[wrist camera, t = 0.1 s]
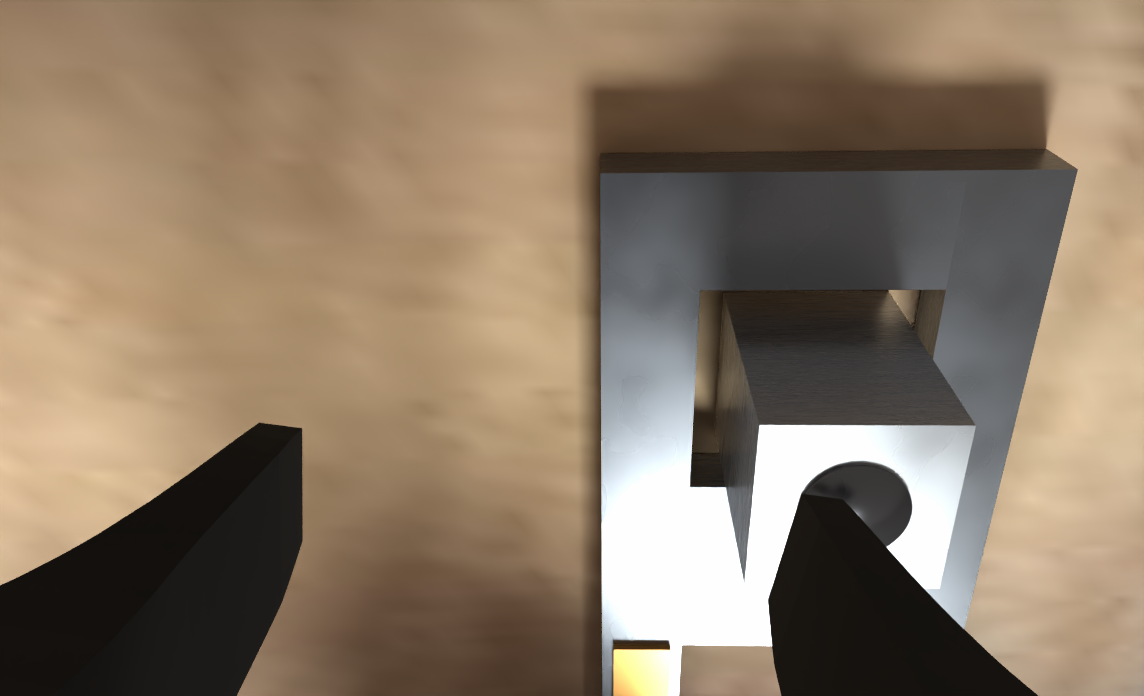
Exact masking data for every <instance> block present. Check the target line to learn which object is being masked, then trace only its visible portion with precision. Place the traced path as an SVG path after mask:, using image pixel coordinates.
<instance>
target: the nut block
mask: <svg viewBox="0 0 1144 696" xmlns="http://www.w3.org/2000/svg"><path fill="white" fill-rule="evenodd" d="M975 428H976V425H975V423H974V422H973V420H972V419H971V417H970V416H969V414H968V412H967V411H966V409H965V408H964V406H963V405H962V403H961V402H960V400H959V399H958V397H957V396H956V394H955V393H954V391H953V389H952V388H951V386H950V385H949V383H948V382H947V380H946V379H945V377H944V376H943V374H942V373H941V371H940V370H939V368H938V366H937V365H936V363H935V362H934V360H933V359H932V357H931V356H930V354H929V353H928V351H927V350H926V348H925V347H924V345H923V343H922V342H921V340H920V339H919V337H918V336H917V334H916V333H915V331H914V330H913V328H912V327H911V325H910V324H909V322H908V320H907V319H906V317H905V316H904V314H903V313H902V311H901V310H900V308H899V307H898V305H897V304H896V302H895V301H894V299H893V297H892V296H891V294H890V293H889V291H872V292H723V307H722V322H721V338H720V353H719V368H718V384H717V399H716V415H715V434H716V440H717V445H718V450H719V455H720V461H721V466H722V471H723V476H724V482H725V487H726V492H727V497H728V503H729V508H730V513H731V518H732V524H733V529H734V534H735V540H736V545H737V550H738V555H739V561H740V566H741V571H742V576H743V582H744V587H772V584H773V581H774V578H775V575H776V572H777V569H778V565H779V562H780V559H781V556H782V553H783V550H784V546H785V543H786V540H787V537H788V534H789V531H790V527H791V524H792V521H793V518H794V515H795V512H796V508H797V505H798V502H799V499H800V496H801V494H808V495H815V496H823V497H831V498H838V499H843V500H844V501H845V502H846V503H847V504H848V505H849V506H850V507H851V508H852V509H853V510H854V511H855V512H856V514H857V515H858V516H859V517H860V518H861V519H862V520H863V521H864V522H865V524H866V525H867V526H868V527H869V528H870V529H871V530H872V531H873V533H874V534H875V535H876V536H877V537H878V538H879V539H880V540H881V542H882V543H883V544H884V545H885V546H886V547H887V548H888V549H889V551H890V552H891V553H892V554H893V555H894V556H895V557H896V558H897V560H898V561H899V562H900V563H901V564H902V565H903V566H904V567H905V568H906V569H907V571H908V572H909V573H910V574H911V575H912V576H913V577H914V578H915V579H916V580H917V581H918V583H919V584H920V585H921V586H922V587H923V588H924V589H940V584H941V580H942V575H943V571H944V566H945V562H946V557H947V553H948V548H949V544H950V539H951V535H952V531H953V526H954V522H955V517H956V513H957V508H958V504H959V499H960V495H961V490H962V486H963V481H964V477H965V473H966V468H967V464H968V459H969V455H970V450H971V446H972V441H973V437H974V432H975Z"/></svg>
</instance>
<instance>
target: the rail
mask: <svg viewBox="0 0 1144 696" xmlns="http://www.w3.org/2000/svg"><path fill="white" fill-rule="evenodd" d="M1077 170H1078V169H1076V168H1075V167H1073V166H1072V165H1070V164H1069V163H1067V162H1066V161H1064V160H1063V159H1061V158H1060V157H1058V156H1057V155H1055V154H1054V153H1052V152H1050V151H1049V150H1047V149H1035V150H927V151H819V152H710V153H602V154H600V257H601V497H602V696H679V687H680V667H681V648H682V645H735V646H772V640H771V631H770V620H769V608H768V597H769V594H770V591H771V588H772V587H744V582H743V576H742V571H741V566H740V561H739V555H738V550H737V545H736V540H735V534H734V529H733V524H732V518H731V513H730V508H729V503H728V497H727V492H726V487H725V482H724V476H723V471H722V466H721V461H720V455H719V454H692V435H693V415H694V396H695V377H696V357H697V338H698V319H699V299H700V290H921V292H920V297H919V303H918V309H917V314H916V320H915V326H914V331H915V333H916V334H917V336H918V337H919V339H920V340H921V342H922V343H923V345H924V347H925V348H926V350H927V351H928V353H929V354H930V356H931V357H932V359H933V360H934V362H935V363H936V365H937V366H938V368H939V370H940V371H941V373H942V374H943V376H944V377H945V379H946V380H947V382H948V383H949V385H950V386H951V388H952V389H953V391H954V393H955V394H956V396H957V397H958V399H959V400H960V402H961V403H962V405H963V406H964V408H965V409H966V411H967V412H968V414H969V416H970V417H971V419H972V420H973V422H974V423H975V425H976V428H975V432H974V437H973V441H972V446H971V450H970V455H969V459H968V464H967V468H966V473H965V477H964V481H963V486H962V490H961V495H960V499H959V504H958V508H957V513H956V517H955V522H954V526H953V531H952V535H951V539H950V544H949V548H948V553H947V557H946V562H945V566H944V571H943V575H942V580H941V584H940V589H925V590H926V591H927V592H928V593H929V594H930V595H931V596H932V597H933V598H934V600H935V601H936V602H937V603H938V604H939V605H940V606H941V607H942V608H943V609H944V610H945V611H946V612H947V613H948V614H949V615H950V616H951V617H952V618H953V619H954V620H955V621H956V622H957V623H958V624H959V625H960V626H961V627H962V628H963V629H964V628H965V624H966V620H967V615H968V611H969V607H970V603H971V599H972V595H973V591H974V587H975V583H976V579H977V575H978V571H979V567H980V563H981V559H982V555H983V551H984V547H985V543H986V539H987V535H988V530H989V526H990V522H991V518H992V514H993V510H994V506H995V502H996V498H997V494H998V490H999V486H1000V482H1001V478H1002V474H1003V470H1004V466H1005V462H1006V458H1007V454H1008V450H1009V445H1010V441H1011V437H1012V433H1013V429H1014V425H1015V421H1016V417H1017V413H1018V409H1019V405H1020V401H1021V397H1022V393H1023V389H1024V385H1025V381H1026V377H1027V373H1028V369H1029V365H1030V360H1031V356H1032V352H1033V348H1034V344H1035V340H1036V336H1037V332H1038V328H1039V324H1040V320H1041V316H1042V312H1043V308H1044V304H1045V300H1046V296H1047V292H1048V288H1049V284H1050V280H1051V275H1052V271H1053V267H1054V263H1055V259H1056V255H1057V251H1058V247H1059V243H1060V239H1061V235H1062V231H1063V227H1064V223H1065V219H1066V215H1067V211H1068V207H1069V203H1070V199H1071V195H1072V190H1073V186H1074V182H1075V178H1076V174H1077Z"/></svg>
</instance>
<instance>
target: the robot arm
mask: <svg viewBox="0 0 1144 696" xmlns="http://www.w3.org/2000/svg"><path fill="white" fill-rule="evenodd" d="M301 544H302V428H295V427H288V426H280V425H272V424H265V423H258V424H257V425H255V426H254V427H253V428H251V429H250V430H248V431H247V432H246V433H244V434H243V435H241V436H240V437H239V438H237V439H236V440H234V441H233V442H232V443H230V444H229V445H228V446H226V447H225V448H224V449H222V450H221V451H220V452H218V453H217V454H215V455H214V456H213V457H211V458H210V459H209V460H207V461H206V462H205V463H203V464H202V465H201V466H199V467H198V468H196V469H195V470H194V471H192V472H191V473H190V474H188V475H187V476H185V477H184V478H183V479H181V480H180V481H178V482H177V483H175V484H174V485H173V486H171V487H170V488H168V489H167V490H165V491H164V492H163V493H161V494H160V495H158V496H157V497H155V498H154V499H153V500H151V501H150V502H148V503H146V504H145V505H143V506H142V507H140V508H139V509H137V510H135V511H134V512H132V513H131V514H129V515H128V516H126V517H124V518H123V519H121V520H120V521H118V522H117V523H115V524H113V525H112V526H110V527H109V528H107V529H106V530H104V531H102V532H101V533H99V534H98V535H96V536H94V537H92V538H91V539H89V540H87V541H86V542H84V543H82V544H80V545H79V546H77V547H75V548H73V549H71V550H70V551H68V552H66V553H64V554H62V555H60V556H59V557H57V558H55V559H53V560H51V561H49V562H47V563H45V564H43V565H41V566H39V567H37V568H35V569H34V570H32V571H30V572H28V573H26V574H24V575H22V576H20V577H18V578H16V579H13V580H11V581H9V582H7V583H5V584H2V585H0V696H237V694H238V692H239V690H240V688H241V686H242V684H243V682H244V680H245V678H246V676H247V674H248V672H249V670H250V667H251V665H252V663H253V661H254V659H255V657H256V655H257V653H258V651H259V649H260V647H261V645H262V643H263V641H264V639H265V637H266V635H267V633H268V631H269V628H270V626H271V624H272V622H273V620H274V618H275V616H276V614H277V612H278V610H279V607H280V605H281V603H282V600H283V598H284V595H285V592H286V589H287V586H288V583H289V580H290V578H291V575H292V572H293V569H294V565H295V562H296V559H297V556H298V553H299V550H300V547H301ZM768 608H769V620H770V631H771V640H772V649H773V657H774V665H775V669H776V674H777V678H778V683H779V687H780V691H781V695H782V696H1038V695H1037V694H1036V693H1034V692H1033V691H1032V690H1031V689H1030V688H1028V687H1027V686H1026V685H1025V684H1024V683H1022V682H1021V681H1020V680H1019V679H1018V678H1016V677H1015V676H1014V675H1013V674H1012V673H1010V672H1009V671H1008V670H1007V669H1006V668H1005V667H1004V666H1003V665H1001V664H1000V663H999V662H998V661H997V660H996V659H995V658H994V657H993V656H991V655H990V654H989V653H988V652H987V651H986V650H985V649H984V648H983V647H982V646H981V645H980V644H979V643H978V642H977V641H976V640H975V639H974V638H973V637H972V636H971V635H970V634H968V633H967V632H966V631H965V630H964V629H963V628H962V627H961V626H960V625H959V624H958V623H957V622H956V621H955V620H954V619H953V618H952V617H951V616H950V615H949V614H948V613H947V612H946V611H945V610H944V609H943V608H942V607H941V606H940V605H939V604H938V603H937V602H936V601H935V600H934V598H933V597H932V596H931V595H930V594H929V593H928V592H927V591H926V590H925V589H924V588H923V587H922V586H921V585H920V584H919V583H918V581H917V580H916V579H915V578H914V577H913V576H912V575H911V574H910V573H909V572H908V571H907V569H906V568H905V567H904V566H903V565H902V564H901V563H900V562H899V561H898V560H897V558H896V557H895V556H894V555H893V554H892V553H891V552H890V551H889V549H888V548H887V547H886V546H885V545H884V544H883V543H882V542H881V540H880V539H879V538H878V537H877V536H876V535H875V534H874V533H873V531H872V530H871V529H870V528H869V527H868V526H867V525H866V524H865V522H864V521H863V520H862V519H861V518H860V517H859V516H858V515H857V514H856V512H855V511H854V510H853V509H852V508H851V507H850V506H849V505H848V504H847V503H846V502H845V501H844V500H843V499H838V498H831V497H823V496H815V495H808V494H801V496H800V499H799V502H798V505H797V508H796V512H795V515H794V518H793V521H792V524H791V527H790V531H789V534H788V537H787V540H786V543H785V546H784V550H783V553H782V556H781V559H780V562H779V565H778V569H777V572H776V575H775V578H774V581H773V584H772V588H771V591H770V594H769V597H768Z"/></svg>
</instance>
